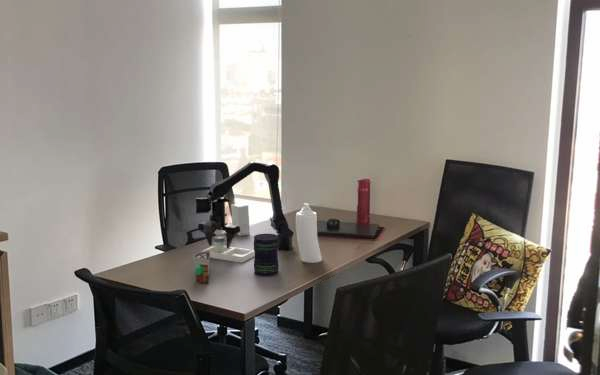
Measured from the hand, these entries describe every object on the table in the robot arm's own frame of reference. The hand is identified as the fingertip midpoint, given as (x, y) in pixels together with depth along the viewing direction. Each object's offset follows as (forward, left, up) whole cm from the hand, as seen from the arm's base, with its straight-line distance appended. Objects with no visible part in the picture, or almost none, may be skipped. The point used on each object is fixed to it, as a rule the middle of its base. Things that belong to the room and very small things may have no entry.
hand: (219, 246), depth 270 cm
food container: (-13, +32, -4) cm, 35 cm away
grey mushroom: (0, 0, -3) cm, 3 cm away
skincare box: (+11, -36, -4) cm, 38 cm away
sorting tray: (-5, 0, -4) cm, 6 cm away
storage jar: (-31, +13, -4) cm, 34 cm away
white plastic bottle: (-39, -10, -4) cm, 40 cm away
